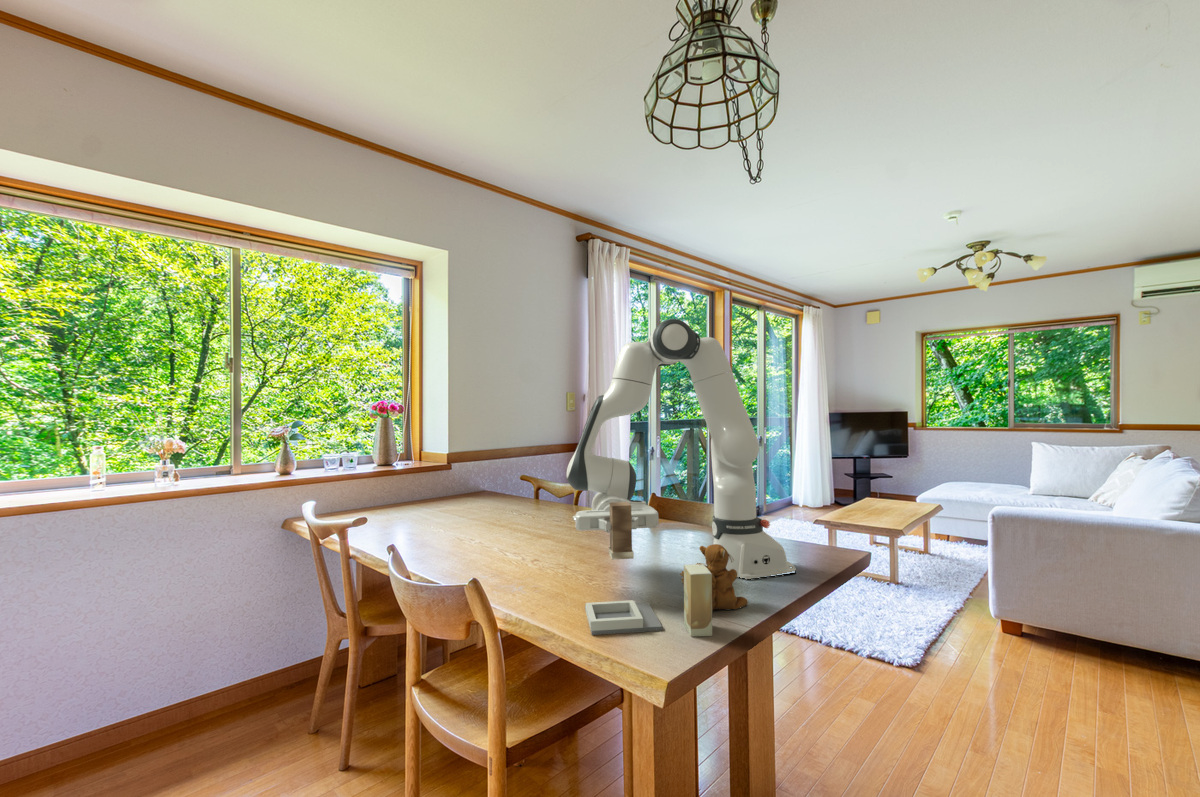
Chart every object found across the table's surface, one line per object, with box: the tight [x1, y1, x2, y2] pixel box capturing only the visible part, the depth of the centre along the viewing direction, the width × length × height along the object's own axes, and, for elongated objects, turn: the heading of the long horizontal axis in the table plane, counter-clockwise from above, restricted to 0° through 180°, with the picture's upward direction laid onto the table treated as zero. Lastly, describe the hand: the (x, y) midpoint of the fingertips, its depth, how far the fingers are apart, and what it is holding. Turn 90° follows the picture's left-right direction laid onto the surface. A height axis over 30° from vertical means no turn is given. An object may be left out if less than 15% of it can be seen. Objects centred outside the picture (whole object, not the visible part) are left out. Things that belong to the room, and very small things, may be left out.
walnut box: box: [608, 502, 635, 560], centre depth 125 cm, size 5×5×12 cm
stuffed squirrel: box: [679, 544, 749, 612], centre depth 120 cm, size 10×14×13 cm
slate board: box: [584, 599, 663, 636], centre depth 113 cm, size 14×14×3 cm
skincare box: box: [683, 563, 713, 638], centre depth 107 cm, size 6×4×12 cm
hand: (621, 526), depth 124 cm, fingers closed on walnut box, 4 cm apart
